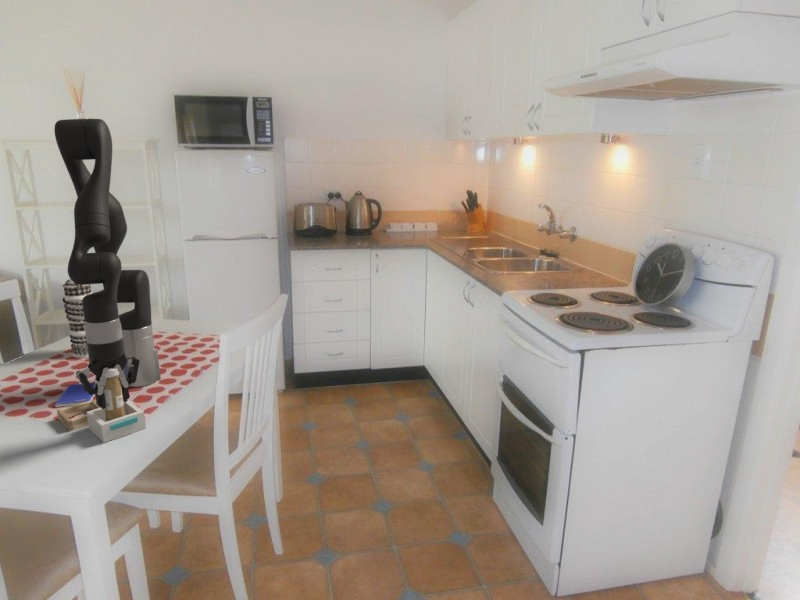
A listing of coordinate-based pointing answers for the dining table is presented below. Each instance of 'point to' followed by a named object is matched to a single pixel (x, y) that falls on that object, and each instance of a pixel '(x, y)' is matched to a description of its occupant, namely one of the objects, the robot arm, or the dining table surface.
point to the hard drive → (74, 396)
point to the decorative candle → (76, 316)
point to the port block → (116, 422)
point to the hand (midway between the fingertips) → (113, 404)
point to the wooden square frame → (75, 410)
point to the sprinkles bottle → (113, 396)
